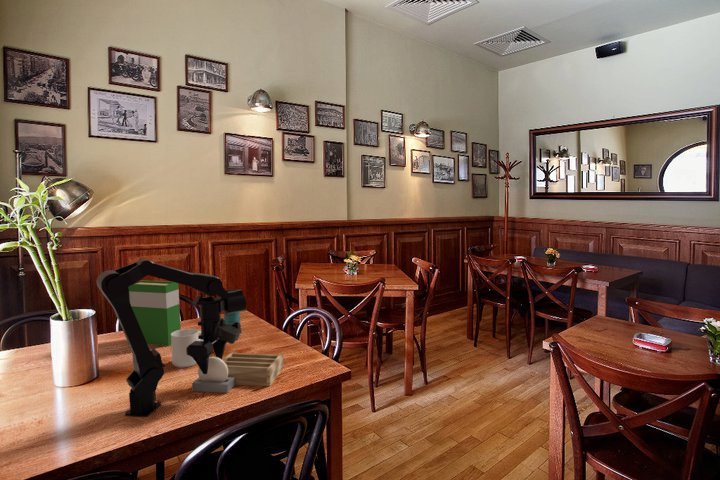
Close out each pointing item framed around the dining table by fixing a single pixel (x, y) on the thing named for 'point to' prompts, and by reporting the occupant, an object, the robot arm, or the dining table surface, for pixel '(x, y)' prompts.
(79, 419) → the dining table surface
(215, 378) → the plate
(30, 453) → the dining table surface
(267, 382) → the rack
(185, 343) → the mug
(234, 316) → the beverage bottle
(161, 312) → the green cereal box
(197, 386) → the stand
